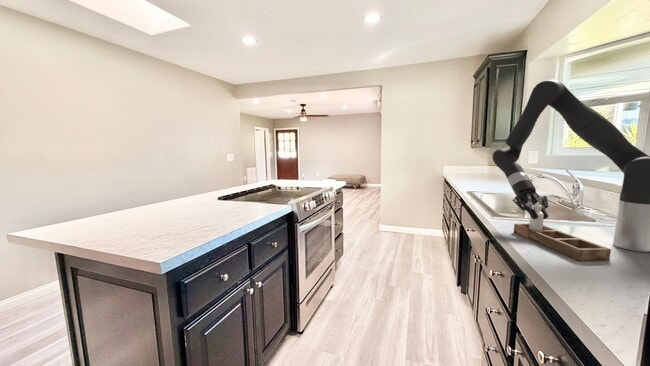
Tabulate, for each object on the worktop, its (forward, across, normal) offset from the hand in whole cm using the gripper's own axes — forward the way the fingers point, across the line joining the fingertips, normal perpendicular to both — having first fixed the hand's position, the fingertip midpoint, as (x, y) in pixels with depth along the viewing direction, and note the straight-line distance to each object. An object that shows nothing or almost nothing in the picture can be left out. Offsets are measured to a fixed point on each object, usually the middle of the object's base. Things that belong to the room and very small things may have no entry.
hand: (540, 218), depth 105 cm
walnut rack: (+11, 0, +1) cm, 11 cm away
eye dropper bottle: (+3, 0, +6) cm, 6 cm away
